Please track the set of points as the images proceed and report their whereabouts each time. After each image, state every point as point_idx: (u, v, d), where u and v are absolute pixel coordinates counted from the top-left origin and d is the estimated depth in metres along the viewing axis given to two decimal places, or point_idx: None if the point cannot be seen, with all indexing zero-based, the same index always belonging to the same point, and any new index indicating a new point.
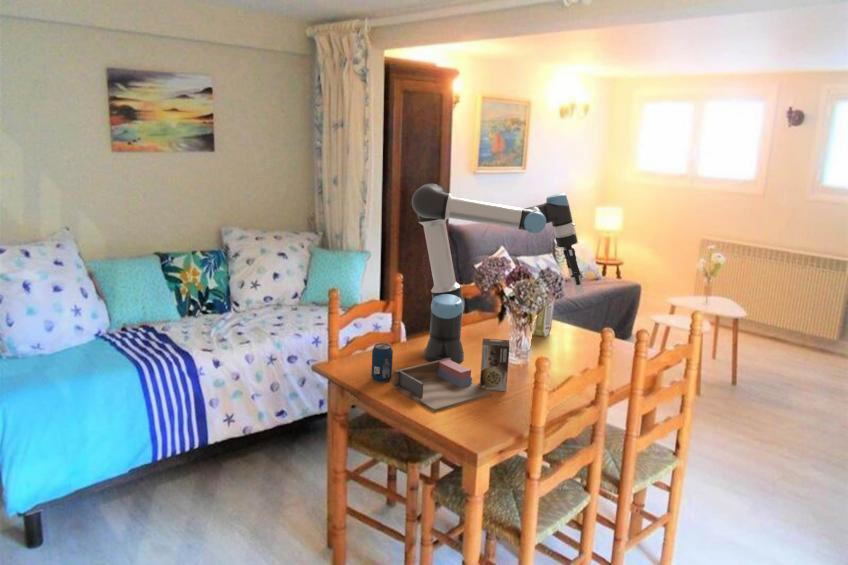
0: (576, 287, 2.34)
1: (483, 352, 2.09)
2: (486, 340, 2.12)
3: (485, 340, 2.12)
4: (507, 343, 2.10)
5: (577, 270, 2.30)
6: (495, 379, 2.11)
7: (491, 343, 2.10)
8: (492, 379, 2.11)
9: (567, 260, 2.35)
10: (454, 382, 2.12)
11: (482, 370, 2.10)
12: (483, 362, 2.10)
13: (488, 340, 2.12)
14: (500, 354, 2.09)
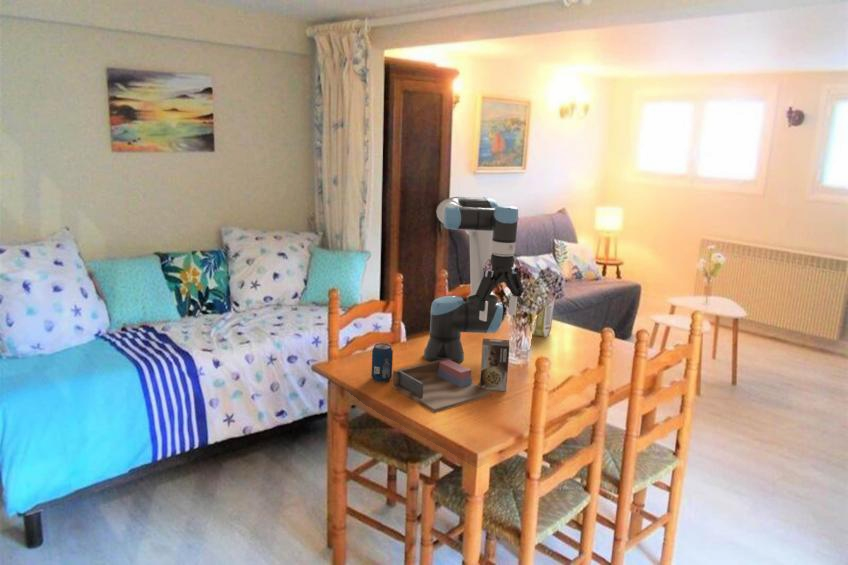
0: (480, 312, 2.04)
1: (483, 352, 2.09)
2: (486, 340, 2.12)
3: (485, 340, 2.12)
4: (507, 343, 2.10)
5: (480, 294, 2.00)
6: (495, 379, 2.11)
7: (491, 343, 2.10)
8: (492, 379, 2.11)
9: None
10: (454, 382, 2.12)
11: (482, 370, 2.10)
12: (483, 362, 2.10)
13: (488, 340, 2.12)
14: (500, 354, 2.09)
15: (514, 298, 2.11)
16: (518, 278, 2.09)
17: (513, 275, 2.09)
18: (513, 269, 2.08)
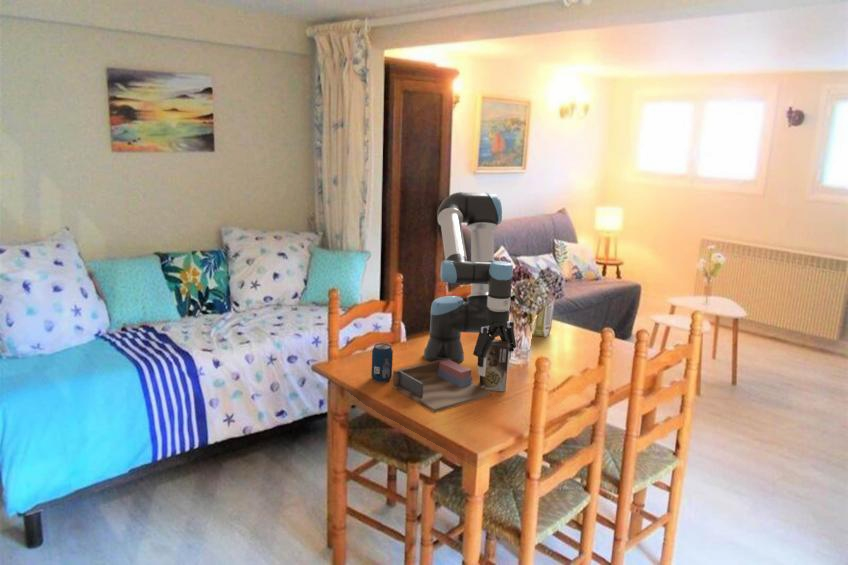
0: (479, 367, 2.10)
1: None
2: None
3: None
4: (506, 343, 2.10)
5: (478, 351, 2.05)
6: (495, 380, 2.10)
7: None
8: (491, 379, 2.11)
9: None
10: (454, 382, 2.12)
11: None
12: None
13: None
14: (499, 355, 2.08)
15: None
16: (512, 333, 2.13)
17: (508, 329, 2.14)
18: (508, 323, 2.12)
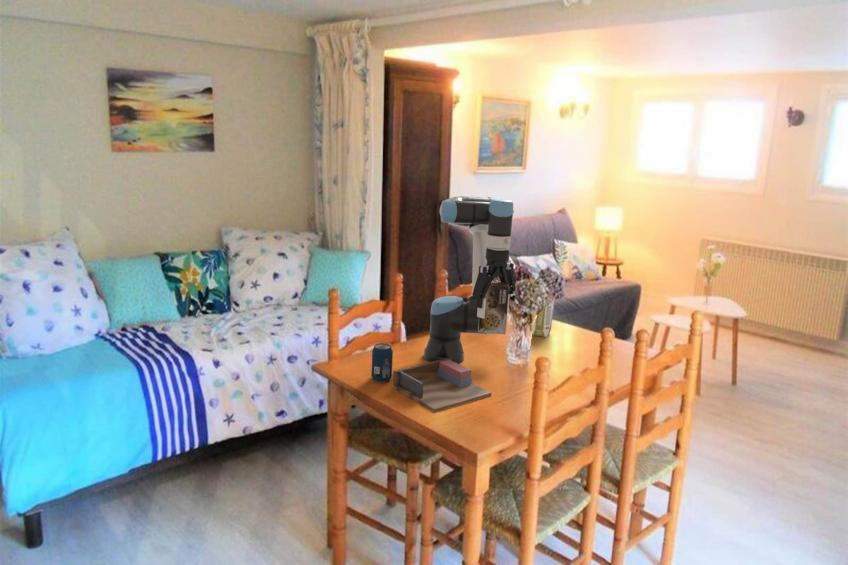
0: (478, 309, 2.03)
1: None
2: None
3: None
4: (506, 284, 2.04)
5: (477, 291, 1.99)
6: (494, 322, 2.04)
7: (490, 284, 2.03)
8: (491, 322, 2.04)
9: None
10: (454, 382, 2.12)
11: None
12: None
13: None
14: (499, 296, 2.02)
15: None
16: (512, 274, 2.07)
17: (507, 271, 2.07)
18: (508, 264, 2.06)
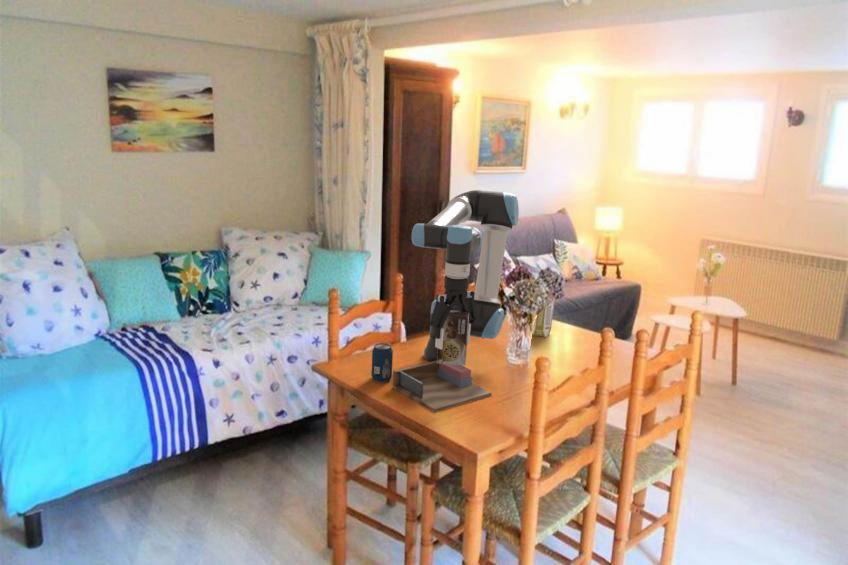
0: (436, 340, 1.95)
1: None
2: None
3: None
4: (466, 314, 1.95)
5: (434, 321, 1.91)
6: (453, 353, 1.96)
7: None
8: (450, 353, 1.96)
9: (443, 305, 1.94)
10: (454, 382, 2.12)
11: None
12: None
13: None
14: (458, 326, 1.93)
15: None
16: (473, 303, 1.99)
17: (468, 299, 1.99)
18: (469, 293, 1.97)
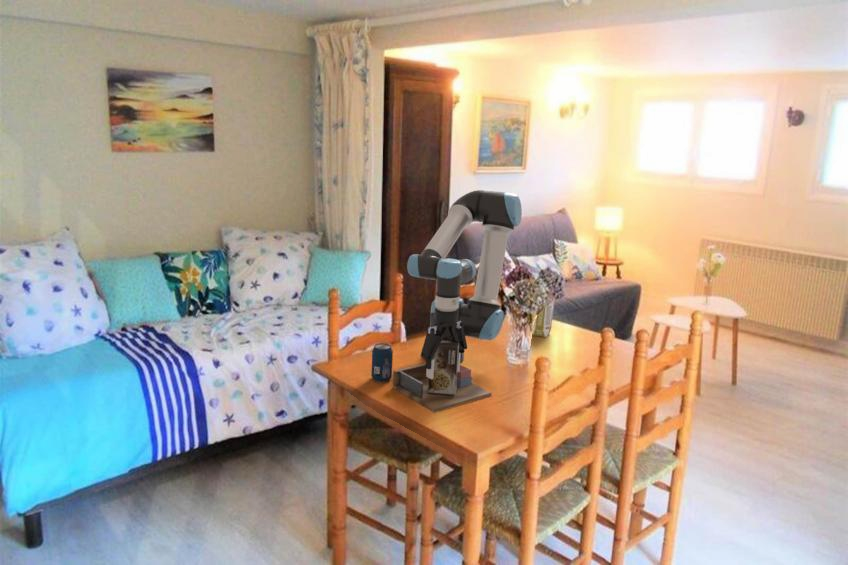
0: (427, 370, 2.01)
1: None
2: None
3: None
4: (456, 344, 2.01)
5: (425, 353, 1.96)
6: (444, 382, 2.02)
7: (439, 344, 2.00)
8: (441, 382, 2.02)
9: (433, 336, 2.00)
10: None
11: None
12: None
13: None
14: (448, 356, 1.99)
15: None
16: (463, 333, 2.04)
17: (458, 329, 2.05)
18: (458, 323, 2.03)
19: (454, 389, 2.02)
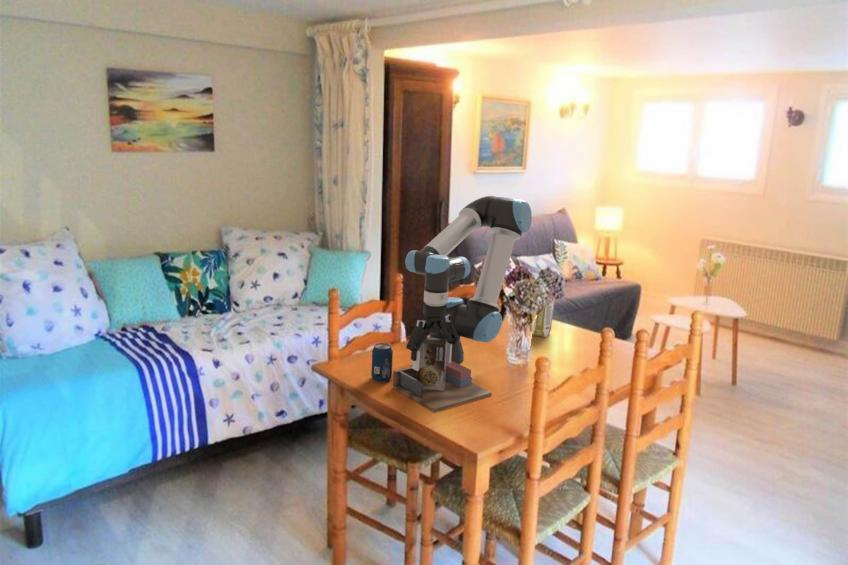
0: (413, 362, 2.04)
1: None
2: None
3: None
4: (444, 341, 2.05)
5: (411, 344, 1.99)
6: (432, 379, 2.06)
7: (427, 341, 2.05)
8: (429, 378, 2.06)
9: None
10: (454, 382, 2.12)
11: None
12: (419, 361, 2.05)
13: None
14: (436, 353, 2.04)
15: (449, 346, 2.10)
16: (452, 326, 2.08)
17: (447, 323, 2.09)
18: (447, 317, 2.07)
19: (442, 385, 2.06)
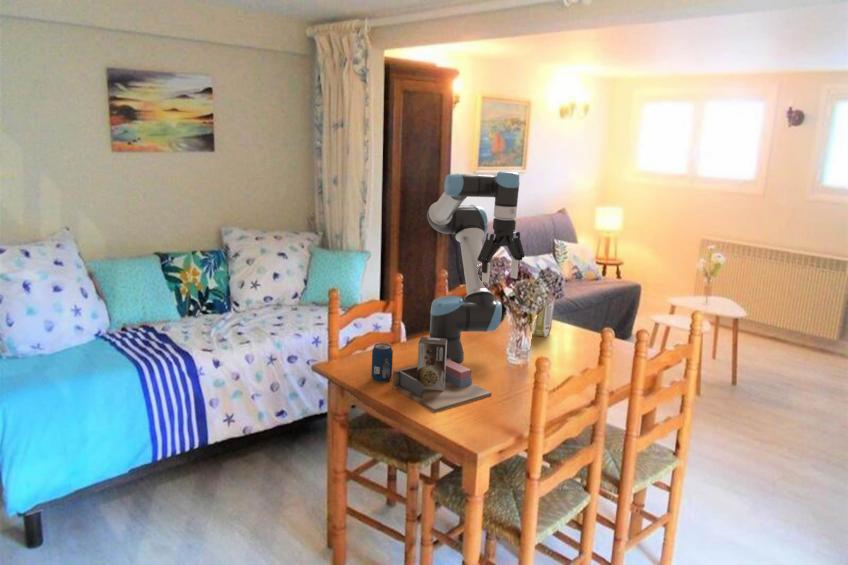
0: (483, 274, 2.13)
1: (419, 351, 2.04)
2: (423, 338, 2.07)
3: (422, 338, 2.07)
4: (444, 341, 2.05)
5: (482, 256, 2.09)
6: (432, 379, 2.06)
7: (427, 341, 2.05)
8: (429, 378, 2.06)
9: None
10: (454, 382, 2.12)
11: (418, 369, 2.06)
12: (419, 361, 2.05)
13: (425, 338, 2.07)
14: (436, 353, 2.04)
15: (515, 262, 2.19)
16: (519, 242, 2.18)
17: (514, 239, 2.18)
18: (514, 233, 2.16)
19: (442, 385, 2.06)
